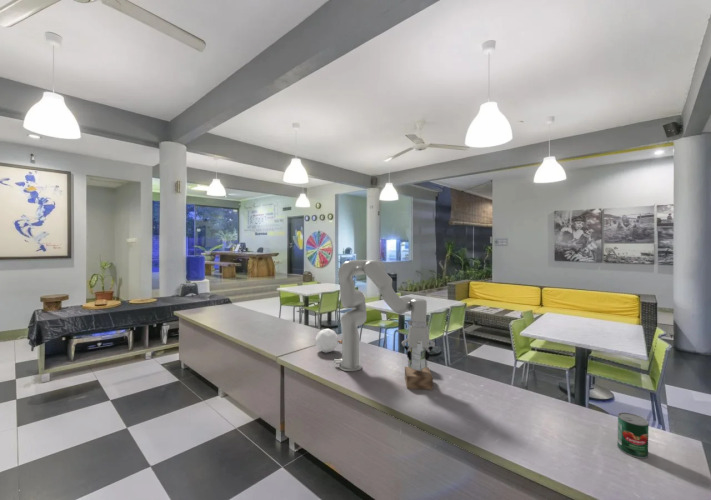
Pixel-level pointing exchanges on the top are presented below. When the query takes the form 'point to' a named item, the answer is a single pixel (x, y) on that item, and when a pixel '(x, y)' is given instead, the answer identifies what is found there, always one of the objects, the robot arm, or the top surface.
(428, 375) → the walnut block
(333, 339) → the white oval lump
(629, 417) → the canned tomato
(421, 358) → the syrup box
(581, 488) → the top surface
